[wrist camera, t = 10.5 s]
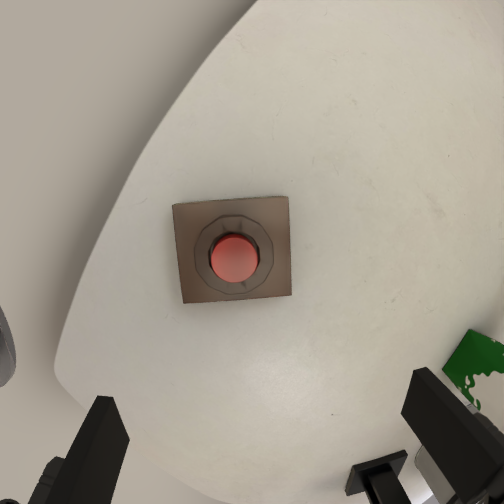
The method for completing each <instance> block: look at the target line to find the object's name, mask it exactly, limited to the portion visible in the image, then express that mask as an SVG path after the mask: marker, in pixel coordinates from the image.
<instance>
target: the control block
mask: <svg viewBox="0 0 504 504" xmlns="http://www.w3.org/2000/svg"><path fill="white" fill-rule="evenodd" d="M172 209H173V220H174V230H175V240H176V249H177V258H178V266H179V274H180V282H181V290H182V297H183V303H184V304H186V303H202V302H217V301H231V300H244V299H256V298H268V297H279V296H289V295H292V290H291V252H290V225H289V203H288V197H287V196H271V197H254V198H238V199H224V200H212V201H200V202H188V203H177V204H174V205H172ZM230 234H238V235H242V236H244V237H246V238H247V239H249V240H250V241H251V243H252V244H253V246H254V248H255V250H256V253H257V258H258V263H257V267H256V270H255V271H254V273H253V274H252V275H251V276H250V277H249V278H248V279H246V280H245V281H242V282H238V283H230V282H226V281H224V280H222V279H221V278H219V277H218V276H217V275H216V274H215V272H214V270H213V268H212V265H211V256H212V252H213V248H214V246H215V244H216V243H217V242H218V241H219V240H220V239H221V238H222V237H224V236H226V235H230Z"/></svg>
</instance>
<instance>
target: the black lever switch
mask: <svg viewBox="0 0 504 504" xmlns="http://www.w3.org/2000/svg"><path fill="white" fill-rule="evenodd" d="M407 456H408V454H407V453H406V451H405V450H402V451H400V452H397V453H394V454H391V455H388V456H385V457H382V458H378V459H375V460H372V461H368V462H365V463H361V464H358V465H354V466H353V467H352V470H351V473H350V476H349V480H348V483H347V486H346V489H345V492H346V495H347V496H350V495H353V494H357V493H361V492H364V491H365V492H366V495H367V497H368V499H369V502H370V504H411V502H410V500H409V498H408V496H407V494H406V492H405V491H404V489H403V487H402V485H401V483H400V481H399V480H398V478H397V477H398V475H399V473H400V471H401V469H402V467H403V465H404V462H405V460H406V458H407Z"/></svg>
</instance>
